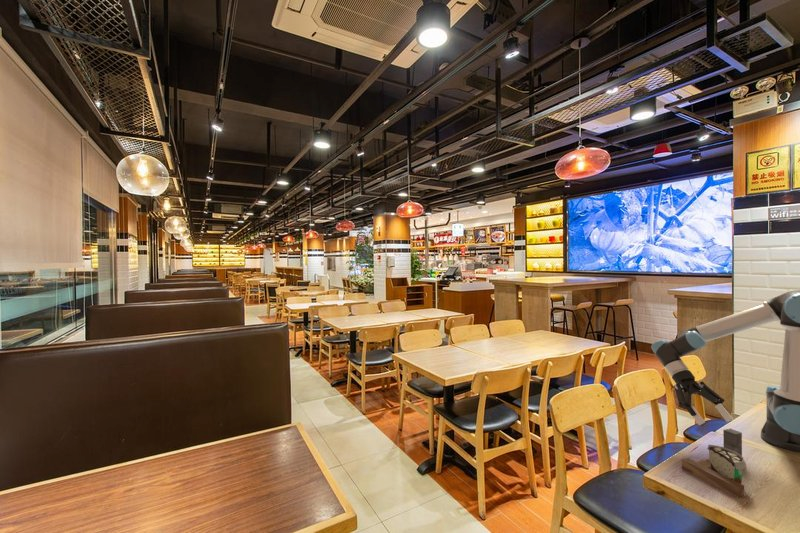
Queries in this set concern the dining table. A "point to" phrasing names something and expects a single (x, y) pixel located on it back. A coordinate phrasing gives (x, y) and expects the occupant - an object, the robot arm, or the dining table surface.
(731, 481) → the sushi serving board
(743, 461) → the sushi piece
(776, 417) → the robot arm
